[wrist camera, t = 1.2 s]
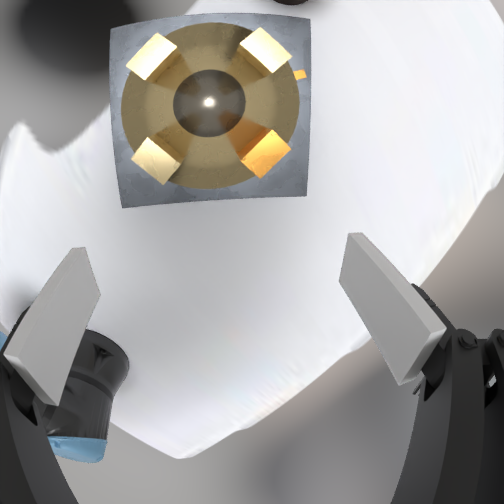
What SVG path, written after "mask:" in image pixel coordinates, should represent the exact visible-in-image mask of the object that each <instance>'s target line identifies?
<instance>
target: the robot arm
mask: <svg viewBox="0 0 504 504" xmlns="http://www.w3.org/2000/svg"><path fill="white" fill-rule="evenodd" d="M339 283H340V284H341V286H342V288H343V289H344V291H345V292H346V294H347V296H348V297H349V299H350V301H351V302H352V304H353V306H354V307H355V309H356V310H357V312H358V314H359V316H360V317H361V319H362V321H363V322H364V324H365V326H366V327H367V329H368V331H369V333H370V334H371V336H372V338H373V340H374V341H375V343H376V345H377V347H378V348H379V350H380V352H381V354H382V356H383V357H384V359H385V361H386V363H387V365H388V366H389V368H390V370H391V372H392V374H393V376H394V378H395V379H396V381H397V383H398V385H401V384H404V383H407V382H410V381H413V380H414V379H415V378H416V377H417V375H418V374H419V372H420V371H421V370H422V372H423V374H424V375H425V376H424V378H423V379H422V380H421V382H420V383H419V384H418V386H417V387H416V388H415V390H414V392H413V394H416V393H417V391H418V390H419V389H420V394H419V401H418V407H417V412H416V417H415V422H414V427H413V432H412V436H411V441H410V445H409V449H408V453H407V456H406V460H405V464H404V467H403V470H402V473H401V476H400V479H399V482H398V485H397V488H396V491H395V494H394V497H393V499H392V502H391V504H504V330H502V329H494V330H493V331H492V333H491V334H490V336H489V337H488V339H477V338H476V336H475V335H474V334H472V333H471V332H470V331H468V330H465V329H457V330H456V329H455V328H454V326H453V325H452V324H451V322H450V321H449V320H448V319H447V318H446V316H445V315H444V314H443V313H442V311H441V310H440V309H439V308H438V307H437V306H436V304H435V303H434V302H433V301H432V300H430V298H429V296H428V295H427V294H426V293H425V292H424V290H422V289H421V288H419V287H418V286H416V285H415V284H410V283H409V282H408V281H407V280H406V278H405V277H404V276H403V275H402V274H401V273H400V272H399V271H398V270H397V268H396V267H395V266H394V265H393V264H392V263H391V262H390V261H389V260H388V259H387V258H386V257H385V256H384V255H383V253H382V252H381V251H380V250H379V249H378V248H377V247H376V246H375V245H374V244H373V243H372V242H371V241H370V240H369V239H368V238H367V237H366V236H365V235H364V234H363V233H348V237H347V243H346V248H345V253H344V258H343V263H342V268H341V273H340V278H339ZM100 295H101V294H100V292H99V289H98V286H97V283H96V280H95V277H94V274H93V271H92V268H91V265H90V262H89V258H88V255H87V252H86V248H85V247H81V248H72V249H71V250H70V252H69V253H68V254H67V256H66V257H65V258H64V259H63V261H62V262H61V263H60V265H59V266H58V267H57V269H56V270H55V271H54V273H53V274H52V276H51V277H50V278H49V280H48V281H47V283H46V284H45V285H44V287H43V288H42V290H41V291H40V293H39V294H38V296H37V297H36V299H35V300H34V302H33V303H32V305H31V306H29V307H28V308H27V309H26V310H25V311H24V312H23V313H22V314H21V316H20V317H19V319H18V320H17V322H16V325H14V327H13V329H12V332H10V334H9V336H8V337H7V336H6V335H5V334H4V333H2V332H1V331H0V504H78V502H77V500H76V498H75V496H74V495H73V493H72V491H71V489H70V488H69V486H68V483H67V481H66V479H65V477H64V475H63V473H62V471H61V469H60V466H59V464H58V462H57V460H56V458H55V455H58V456H61V457H64V458H68V459H71V460H75V461H80V462H87V463H96V462H99V461H101V460H102V459H103V457H104V452H105V448H106V444H107V435H108V428H109V421H110V414H111V408H112V402H113V397H114V395H115V393H116V392H117V390H118V389H119V387H120V386H121V384H122V382H123V381H124V380H125V378H126V376H127V372H128V367H129V362H128V359H127V356H126V355H125V353H124V352H123V351H122V349H121V348H120V347H119V346H117V345H116V344H115V343H114V342H112V341H111V340H110V339H108V338H106V337H104V336H102V335H100V334H98V333H95V332H92V331H89V330H85V329H86V327H87V324H88V322H89V320H90V317H91V315H92V313H93V310H94V308H95V306H96V304H97V302H98V299H99V297H100ZM494 375H495V377H496V382H495V383H494V385H493V386H492V387H490V385H489V381H490V380H491V379H492V377H493V376H494ZM54 454H55V455H54Z"/></svg>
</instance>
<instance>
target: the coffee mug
mask: <svg viewBox="0 0 504 504" xmlns="http://www.w3.org/2000/svg"><path fill="white" fill-rule="evenodd" d="M274 1H276V2H278V3H281V4H285V5H298V4H302V3H304V2H306V1H307V0H274Z"/></svg>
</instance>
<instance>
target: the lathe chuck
mask: <svg viewBox="0 0 504 504" xmlns="http://www.w3.org/2000/svg"><path fill="white" fill-rule="evenodd" d="M291 57H292V55H291V54H289V53H288V52H287V51H286V50H285V49H284V48H283V47H282V46H281V45H280V44H279V43H278V42H277V41H276V40H275V39H273V38H272V37H271V36H270V35H269V34H268V33H267V32H266V31H264V30H263V29H262V28H261V27H260V28H258V29H257V30H256V31H252V30H250V29H247V28H245V27H242V26H238V25H234V24H229V23H222V22H207V23H198V24H193V25H189V26H185V27H183V28H180V29H177V30H175V31H173V32H171V33H169V34H167V35H165V36H161V35H160V34H159V33H156V34H155V35H154V36H153V37H152V38H151V39H150V40H149V41H148V42H147V43H146V44H145V45H144V46H143V47H142V48H141V49H140V50H139V51H138V52H137V53H136V54H135V56H134V57H133V58H132V59H131V60H130V61H129V62H128V63H127V65H126V66H127V67H128V68H129V69H131V71H130V73H129V75H128V78H127V80H126V83H125V86H124V89H123V93H122V100H121V119H122V126H123V129H124V133H125V136H126V138H127V141H128V143H129V145H130V147H131V148H132V150H133V152H134V153H135V154H134V155H133V156H132V158H131V160H132V161H134V162H135V163H136V164H137V165H139V166H140V167H141V168H142V169H144V170H145V171H146V172H147V173H149V174H150V175H151V176H152V177H154V178H155V179H156V180H157V181H159V182H160V183H161V184H162V185H164V184H165V183H166V181H169V182H172V183H174V184H177V185H180V186H184V187H189V188H196V189H217V188H224V187H228V186H232V185H236V184H239V183H241V182H244V181H246V180H248V179H250V178H252V177H254V176H257V177H258V178H260V179H261V178H262V177H263V176H264V175H265V174H266V173H267V172H268V171H269V170H270V169H271V168H272V167H273V166H274V165H275V164H276V163H277V162H278V161H279V160H280V159H281V158H282V157H283V156H284V155H285V154H287V153H288V152H289V151H290V150H291V148H290V147H289V146H288V143H289V141H290V139H291V137H292V135H293V132H294V130H295V127H296V124H297V120H298V115H299V105H300V101H299V90H298V85H297V81H296V78H295V75H294V72H293V70H292V68H291V66H290V64H289V62H288V60H289V59H290V58H291Z"/></svg>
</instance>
